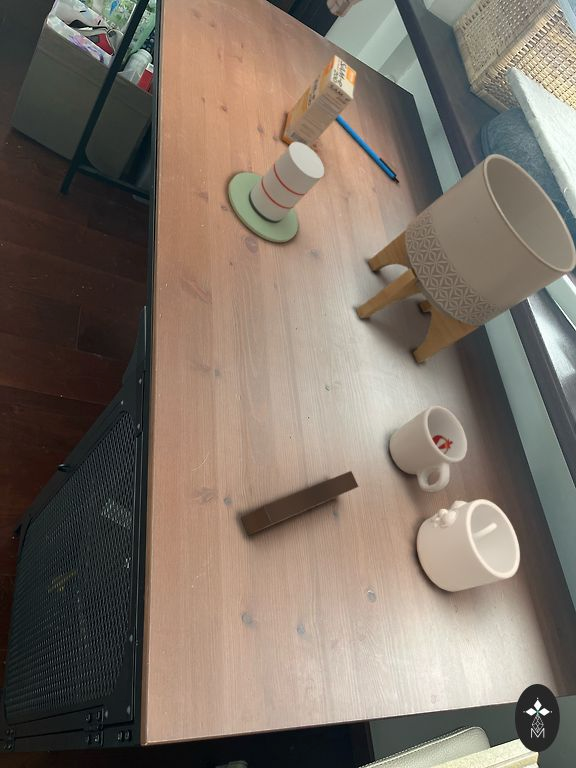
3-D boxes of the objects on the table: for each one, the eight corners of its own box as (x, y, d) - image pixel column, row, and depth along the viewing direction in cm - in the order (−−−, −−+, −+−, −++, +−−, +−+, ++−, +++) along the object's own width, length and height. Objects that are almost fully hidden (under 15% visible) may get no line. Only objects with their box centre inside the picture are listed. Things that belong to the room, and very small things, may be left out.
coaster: (248, 242, 86) (250, 239, 85) (215, 171, 88) (217, 168, 88) (307, 242, 94) (309, 240, 93) (276, 178, 96) (278, 175, 96)
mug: (438, 494, 86) (491, 473, 80) (479, 558, 86) (536, 542, 79) (397, 537, 78) (452, 517, 72) (442, 609, 77) (502, 595, 71)
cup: (430, 506, 84) (477, 487, 79) (388, 496, 80) (434, 476, 75) (418, 434, 90) (461, 412, 84) (378, 421, 86) (421, 398, 80)
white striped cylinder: (295, 231, 84) (305, 142, 80) (239, 218, 91) (246, 135, 87) (324, 231, 88) (335, 146, 84) (268, 218, 95) (276, 140, 91)
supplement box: (286, 112, 107) (334, 52, 98) (308, 129, 109) (357, 72, 100) (280, 139, 102) (330, 78, 93) (303, 156, 104) (354, 98, 95)
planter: (384, 369, 92) (535, 272, 74) (333, 261, 96) (463, 145, 78) (451, 356, 105) (593, 271, 87) (403, 261, 109) (530, 162, 91)
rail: (248, 535, 65) (271, 524, 62) (240, 517, 65) (263, 505, 62) (335, 497, 74) (358, 486, 71) (328, 482, 75) (351, 470, 72)
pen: (396, 185, 120) (400, 181, 119) (327, 111, 116) (331, 106, 116) (397, 183, 121) (401, 179, 120) (329, 109, 117) (332, 105, 116)
